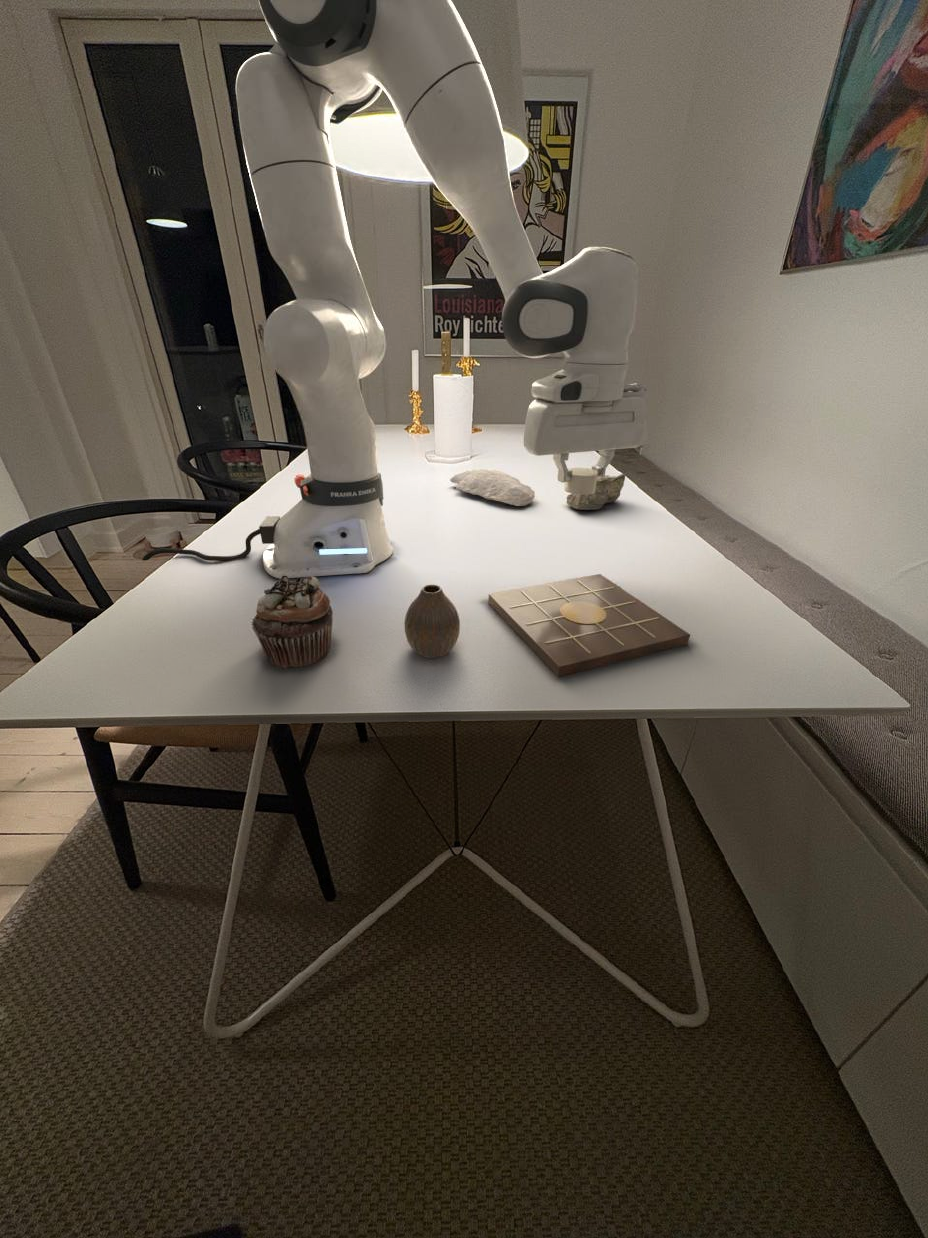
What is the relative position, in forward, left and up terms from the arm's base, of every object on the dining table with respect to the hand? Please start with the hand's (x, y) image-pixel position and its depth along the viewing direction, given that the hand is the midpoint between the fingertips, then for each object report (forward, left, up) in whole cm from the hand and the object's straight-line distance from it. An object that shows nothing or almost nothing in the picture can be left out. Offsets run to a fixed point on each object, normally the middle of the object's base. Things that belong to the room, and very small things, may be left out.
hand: (580, 479), depth 81 cm
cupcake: (-47, -10, -15) cm, 50 cm away
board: (-9, -17, -15) cm, 25 cm away
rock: (+24, +28, -15) cm, 40 cm away
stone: (+6, +44, -15) cm, 47 cm away
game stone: (0, 0, -2) cm, 2 cm away
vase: (-31, -16, -15) cm, 38 cm away
